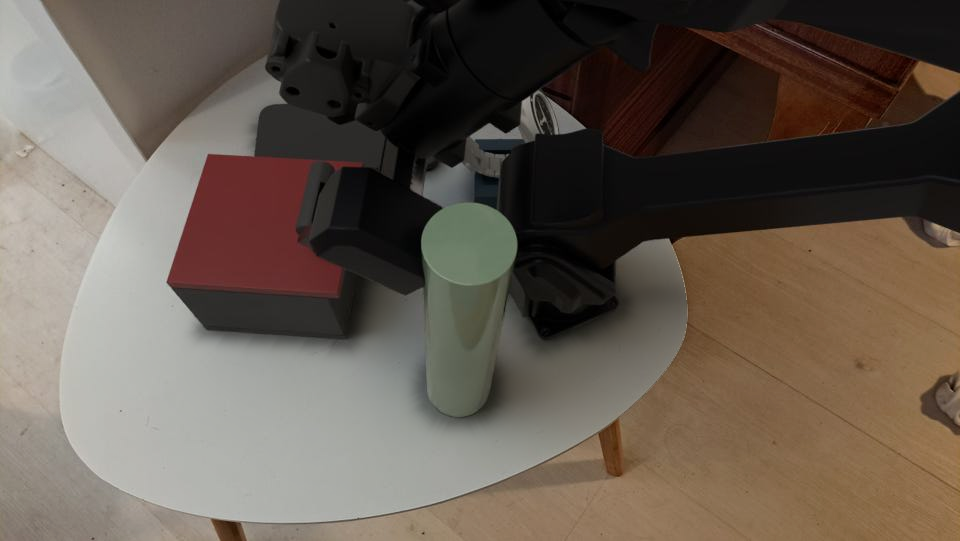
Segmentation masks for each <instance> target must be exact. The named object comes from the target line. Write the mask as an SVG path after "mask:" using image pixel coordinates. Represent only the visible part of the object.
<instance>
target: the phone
mask: <svg viewBox="0 0 960 541" xmlns="http://www.w3.org/2000/svg"><path fill="white" fill-rule="evenodd" d="M255 137H256V138H255V146H254V147H255V148H254V155H253V156H255V157H272V158H290V159H308V160H325V161H343V162H361V163H363V164H364V167H370V168H372V169H374V170H376V171H377V172H378V170H379V165H380V159H381V154H382V148H383V143H384V137H385V136H384V135H383V134H382V133H381V131H380V130H379V131H374V130H372V129H370V128H368V127H367V126H365V125H363V124H362V123H360V122H358V121H352V122H349V123H346V124H343V125H338V124H336V123H334V122H332V121H330V120H329V119H328V118H327V116H325V115H321V114H318V113H315V112H312V111H308V110H305V109H302V108H299V107H296V106H292V105H289V104H288V103H274V104H269V105H266V106H264V107H263V108H262V109H261V111H260V112H259V115H258V122H257V129H256V136H255ZM437 163H438V160H437V159H435V158H434V157H430V158H429V159H428V161H427V168H426V171H428V170H430V169H432V168H433V167H435V166H436V164H437Z"/></svg>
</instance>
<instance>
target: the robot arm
mask: <svg viewBox="0 0 960 541" xmlns="http://www.w3.org/2000/svg"><path fill="white" fill-rule="evenodd" d="M769 21H779V22H784V23H785V22H786V23H791V24H799V25H802V26H806V27H808V28H812V29H815V30H819V31H822V32H825V33H829V34H832V35H834V36H838V37H842V38H844V39H847V40H851V41H854V42H858V43H861V44H863V45H867V46H870V47H874V48H877V49H880V50H883V51H886V52H890V53H892V54H896V55H899V56H902V57H905V58H910V59H912V60H916V61H918V62H922V63H925V64H928V65H932V66H934V67H937V68H941V69H944V70H948V71H950V72H954V73H957V74H960V0H279V1H278V4H277V8H276V10H275V14H274V19H273V25H272V31H271V35H270V40H269V46H268V50H267V56H266V61H265V64H264V69H265V71H266V72H267V73H268V74H269V75H270V76H271V77H272V78H273V79H274V80H276V81H278V82H279V83H280V87H279V90H278V94H279V96H280V97H281V99H282V100H283V101H284V102H285V103H286V104H289V105H292V106H296V107H299V108H302V109H305V110H308V111H312V112H315V113H318V114H321V115H325V116H327V118H328V119H329V120H330V121H332V122H334V123H336V124H338V125H343V124H346V123H349V122H352V121H358V122H360V123H362V124H363V125H365V126H367V127H368V128H370V129H372V130H374V131H379V130H380V131H381V133H382V134H383V135H384V136H385V137H384V143H383V148H382V154H381V159H380V165H379V170H378V172H377V171H376V170H374V169H372V168H370V167H341V168H340V169H339V170H337V171H336V172H335V173H333V174H332V175H331V176H330V177H329V179H328V181H327V183H326V184H325V183H323V182H320V183H319V188H318V192H317V196H316V201H315V205H314V210H313V214H312V218H311V222H310V223H309V224H308V225H307V226H306V228H305V229H304V230H303V231H302V233H301V234H300V235H299V236H298V240H297V242H298V243H299V244H301V245H303V246H305V247H308V248H310V249H313V250H314V252H315V254H316V256H317V257H319V258H321V259H323V260H325V261H328V262H330V263H332V264H334V265H337V266H339V267H341V268H344V269H346V270H348V271H350V272H353V273H355V274H357V276H359V277H362V278H364V279H367V280H369V281H371V282H373V283H376V284H378V285H380V286H383V287H384V288H387V289H388V290H391V291H393V292H395V293H399V295H403V296H408V295H410V294H412V293H415V292H416V291H418V290H420V289H423V287H424V286H425V276H424V271H423V265H422V255H421V238H422V233H423V231H424V228H425V226H426V224H427V223H428V221H429V220H430V219H431V218H432V217H433V216H434V215H435V214H436V213H437V212H439V211H440V210H442V209H443V208H444V206H441V205H439V204H438V203H436V202H434V201H433V200H431V199H429V198H426V197H425V196H423V195H424V189H425V182H426V174H427V170H426V168H427V161H428V159H429V158H430V157H434V158H435V159H437V161H439V162H440V163H442V164H444V165H446V166H447V167H449V168H451V169H453V168H455V167H456V166H458V165H460V164H462V163H461V162H462V161H464V158H465V149H466V140H467V138H468V137H469V136H470V137H471V136H472V135H474V134H475V133H476V132H477V133H478V131H480V130H481V129H483V128H484V127H486V126H487V125H489V124H490V125H491V126H493V127H494V128H496V129H497V130H499V131H500V132H502V133H504V134H505V135H507V134H508V133H510V132H512V131H513V130H515V129H516V128H518V126H519V125H520V122H521V107H522V101H523V100H525V99H526V98H528V97H529V96H531V95H532V94H534V93H535V92H537V91H538V90H540V89H541V90H542V89H543V88H544V87H547V85H549V84H550V83H552V82H554V81H555V80H557V79H558V78H559V77H561V76H562V75H564V74H565V73H567V72H568V71H570V70H572V69H573V68H575V67H577V65H579V64H580V63H582V62H584V61H585V60H587V59H589V58H590V57H591V56H593V55H594V54H595V53H597V52H599V51H600V50H602V49H604V48H607V49H608V50H610V51H611V52H612V53H613V54H615V55H616V56H617V57H618V58H619V59H621V60H622V61H623V62H624V63H625V64H627V65H628V67H630V68H631V69H632V70H634V71H635V72H637V73H642V72H643V73H644V72H647V71H648V70H649V68H650V67H651V56H652V48H653V42H654V37H655V34H656V31H657V29H658V27H659V25H663V26H670V27H677V28H684V29H690V30H691V29H692V30H699V31H705V32H713V33H725V34H726V33H731V32H734V31H738V30H741V29H745V28H749V27H751V26H755V25H759V24H762V23H766V22H769ZM497 211H498V212H500V213H501V214H502V215H503V216H505V217H506V218H507V220H508V221H509V222H510V223H511V225H512V227H513V229H514V231H515V233H516V237H517V243H518V246H517V254H516V259H515V265H514V270H513V275H512V280H511V285H510V290H509V294H510V295H511V297H512V299H513V301H514V303H515V305H516V307H517V309H518V310H519V312H520V314H521V316H522V318H525V319H527V320H529V322H530V324H531V326H532V328H533V329H534V331H535V333H536V335H537V337H538V338H539V339H541V340H542V341H546V340H550V339H552V338H554V337H556V336H559V335H561V334H564V333H565V332H569V331H570V330H572V329H575V328H577V327H580V326H582V325H584V324H586V323H589V322H591V321H594V320H595V319H598V318H601V317H602V316H605V315H606V314H607V315H608V314H610V313H612V312H614V311H617V309H618V308H619V303H620V301H619V299H618V298H617V296H616V295H617V261H618V260H619V259H621V258H622V257H623V256H625V255H626V254H629V253H630V252H631V251H632V250H633V249H636V248H637V247H638V246H640V245H641V244H642V243H644V242H649V241H657V240H658V241H659V240H670V239H679V238H689V237H699V236H710V235H711V236H713V235H722V234H733V233H745V232H755V231H766V230H776V229H788V228H789V229H790V228H798V227H809V226H810V227H811V226H818V225H819V226H822V225H830V224H831V225H832V224H841V223H852V222H853V223H854V222H864V221H874V220H875V221H877V220H887V219H898V218H910V217H911V218H912V217H913V218H915V217H916V218H919V219H922V220H924V221H926V222H929V223H931V224H934V225H936V226H940V227H942V228H944V229H947V230H949V231H952V232H955V233H957V234H960V90H958V91H957V92H955V93H954V94H952V95H951V96H950V97H947V99H945V100H944V101H942V102H941V103H939V104H937V105H936V106H934V107H933V108H932V109H930V110H928V111H927V112H926V113H923V115H921V116H920V117H918V118H917V119H915V120H914V121H911V122H906V123H902V124H894V125H888V126H879V127H871V128H863V129H855V130H848V131H840V132H833V133H832V132H831V133H824V134H816V135H808V136H801V137H800V136H799V137H793V138H792V137H791V138H784V139H777V140H769V141H761V142H752V143H744V144H737V145H730V146H729V145H728V146H721V147H713V148H706V149H698V150H697V149H696V150H689V151H684V152H681V151H680V152H674V153H666V154H659V155H652V156H651V155H650V156H640V157H639V156H638V157H636V156H632V155H631V154H628V153H625V152H623V151H620V150H618V149H617V148H613V147H611V146H609V145H606V144H604V132H603V131H602V130H600V129H596V128H591V127H587V128H583V129H578V130H575V131H570V132H566V133H560V134H554V135H550V134H540V133H537V134H535V140H534V141H530V142H526V143H522V144H520V145H518V146H516V147H514V148H512V149H511V153H510V154H509V155H508V156H507V157H506V158H505V159H504V160H503V161H502V164H501V168H500V174H499V186H498V199H497ZM610 303H613V304H612V305H611V304H610ZM543 331H545V332H546V334H544V333H542V332H543Z"/></svg>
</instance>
